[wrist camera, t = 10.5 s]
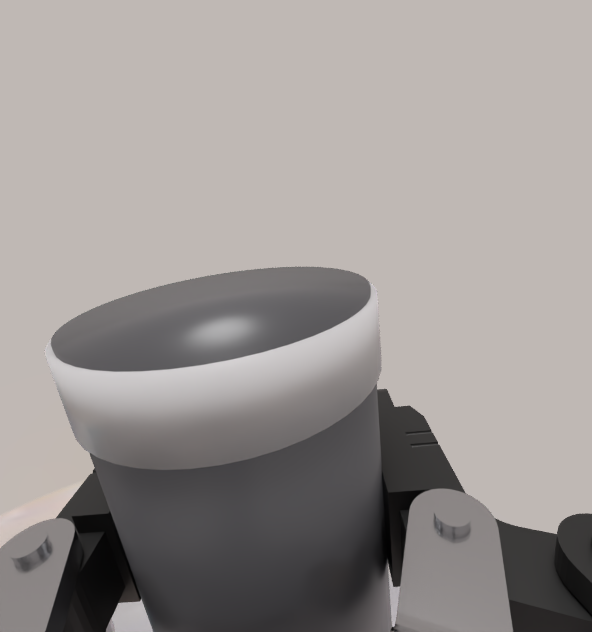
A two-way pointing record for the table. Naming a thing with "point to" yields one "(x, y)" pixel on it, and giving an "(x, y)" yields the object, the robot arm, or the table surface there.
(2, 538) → the table surface
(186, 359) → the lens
